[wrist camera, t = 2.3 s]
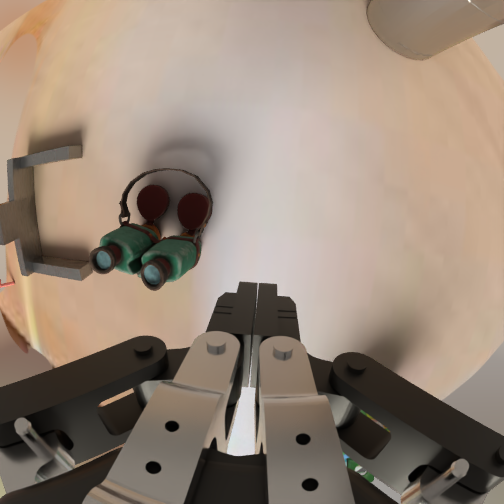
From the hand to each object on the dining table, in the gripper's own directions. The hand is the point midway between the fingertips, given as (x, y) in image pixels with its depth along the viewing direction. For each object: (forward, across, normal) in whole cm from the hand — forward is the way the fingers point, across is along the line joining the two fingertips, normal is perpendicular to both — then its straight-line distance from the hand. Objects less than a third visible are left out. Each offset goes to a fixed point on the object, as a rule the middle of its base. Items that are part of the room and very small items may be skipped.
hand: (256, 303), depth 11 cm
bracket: (+17, +26, 0) cm, 31 cm away
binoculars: (+17, +10, 0) cm, 19 cm away
